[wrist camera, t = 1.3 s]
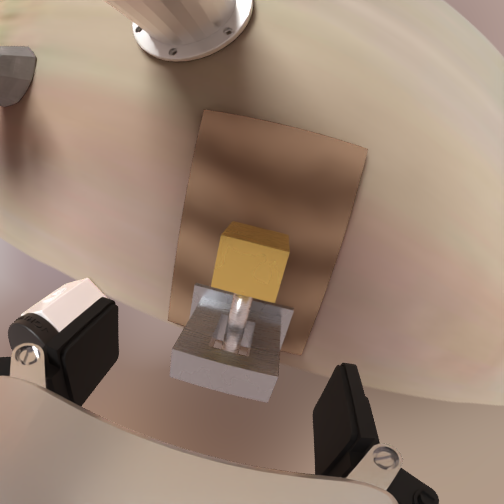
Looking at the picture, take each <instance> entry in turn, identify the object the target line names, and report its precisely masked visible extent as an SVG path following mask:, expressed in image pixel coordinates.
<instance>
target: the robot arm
mask: <svg viewBox="0 0 504 504" xmlns="http://www.w3.org/2000/svg"><path fill="white" fill-rule="evenodd" d="M104 1H105V2H107V3H108V4H110V5H111V6H112V7H114V8H115V9H116V10H118V11H119V12H121V13H122V14H123V15H125V16H126V17H127V18H129V19H130V20H131V21H132V30H133V35H134V37H135V40H136V42H137V43H138V44H139V46H140V47H141V48H142V49H143V50H145V51H146V52H147V53H149V54H150V55H152V56H154V57H156V58H159V59H162V60H166V61H175V62H179V61H190V60H195V59H199V58H202V57H205V56H208V55H211V54H213V53H215V52H217V51H219V50H220V49H222V48H224V47H225V46H227V45H228V44H229V43H231V42H232V41H234V40H235V39H236V38H237V37H238V36H239V35H240V34H241V33H242V31H243V30H244V28H245V27H246V26H247V24H248V22H249V20H250V18H251V15H252V10H253V0H104ZM228 33H231V34H229V35H227V34H228ZM175 53H176V54H175ZM174 54H175V55H174ZM118 345H119V344H118V306H117V305H115V302H114V301H113V300H111V299H108V298H105V297H101V298H100V299H98V300H97V301H96V302H95V303H93V304H92V305H91V306H90V307H89V308H87V309H86V310H85V311H84V312H83V313H81V314H80V315H79V316H78V317H77V318H75V319H74V320H73V321H72V322H71V323H69V324H68V325H67V326H66V327H65V328H64V329H62V330H61V331H60V332H59V333H58V334H57V335H55V336H54V337H53V338H52V339H51V340H50V341H49V342H47V343H46V344H45V346H44V347H43V348H41V347H39V346H38V345H36V344H33V343H23V344H21V345H18V346H17V347H15V349H14V350H13V351H12V355H11V357H0V504H439V499H438V496H437V494H436V492H435V491H434V490H433V489H432V488H430V487H429V486H427V485H425V484H424V483H422V482H421V481H420V480H418V479H417V478H415V477H414V476H412V475H411V474H409V473H408V472H406V471H405V470H404V469H402V468H401V466H402V462H403V458H402V456H401V453H400V452H399V451H398V450H397V449H396V448H395V447H393V446H391V445H389V444H385V443H382V444H380V443H379V439H378V434H377V430H376V426H375V422H374V418H373V415H372V411H371V407H370V404H369V400H368V398H367V397H366V396H365V394H364V390H363V387H362V383H361V379H360V376H359V372H358V369H357V366H356V365H354V364H349V363H342V364H341V365H337V366H336V368H335V370H334V372H333V374H332V376H331V378H330V380H329V382H328V384H327V386H326V388H325V389H324V391H323V393H322V395H321V397H320V399H319V401H318V402H317V404H316V406H315V408H314V410H313V429H314V451H315V475H314V474H305V473H295V472H289V471H282V470H276V469H269V468H263V467H258V466H252V465H247V464H242V463H238V462H233V461H228V460H224V459H220V458H216V457H212V456H209V455H205V454H201V453H198V452H194V451H190V450H187V449H184V448H181V447H177V446H175V445H172V444H169V443H166V442H163V441H160V440H157V439H154V438H152V437H149V436H146V435H144V434H141V433H138V432H136V431H133V430H131V429H128V428H126V427H124V426H121V425H119V424H117V423H114V422H112V421H110V420H108V419H106V418H103V417H101V416H99V415H97V414H95V413H93V412H91V411H89V410H87V409H85V408H83V407H81V406H82V404H83V403H84V402H85V401H86V399H87V398H88V397H89V396H90V394H91V393H92V391H93V390H94V389H95V388H96V386H97V385H98V384H99V383H100V381H101V380H102V379H103V377H104V376H105V375H106V374H107V372H108V371H109V370H110V368H111V367H112V366H113V365H114V363H115V362H116V361H117V359H118V355H119V346H118Z"/></svg>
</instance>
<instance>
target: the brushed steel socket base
mask: <svg viewBox="0 0 504 504" xmlns="http://www.w3.org/2000/svg"><path fill="white" fill-rule="evenodd" d="M233 295H234V293H232V292H229V291H225V290H221V289H217V288H214V287H210V286H206V285H203V284H199V283H196V284H195V285H194V292H193V298H192V304H191V311H190V318H189V321H188V322H187V324H186V326H185V328H184V329H183V331H182V333H181V334H180V336H179V338H178V340H177V341H176V343H175V345H174V347H173V348H172V356H171V367H170V377H172V378H175V379H179V380H182V381H185V382H189V383H192V384H195V385H198V386H202V387H205V388H209V389H212V390H216V391H220V392H224V393H228V394H231V395H235V396H240V397H244V398H248V399H253V400H257V401H262V402H267V403H268V401H269V398H270V396H271V394H272V391H273V389H274V386H275V384H276V381H277V379H278V373H279V355H280V349H281V347H282V344H283V341H284V338H285V335H286V332H287V329H288V327H289V324H290V321H291V318H292V315H293V312H294V308H292V307H288V306H284V305H280V304H276V303H272V302H268V301H264V300H260V299H256V298H253V300H252V304H251V308H250V311H249V315H248V319H247V323H246V327H245V330H244V334H243V338H242V342H241V345H240V346H244V347H248V351H247V356H244V355H240V354H236V353H232V352H229V351H225V350H221V349H217V348H214V347H213V346H214V343H215V341H216V339H217V340H221V341H223V339H224V335H225V330H226V326H227V322H228V317H229V313H230V308H231V304H232V300H233Z"/></svg>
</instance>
